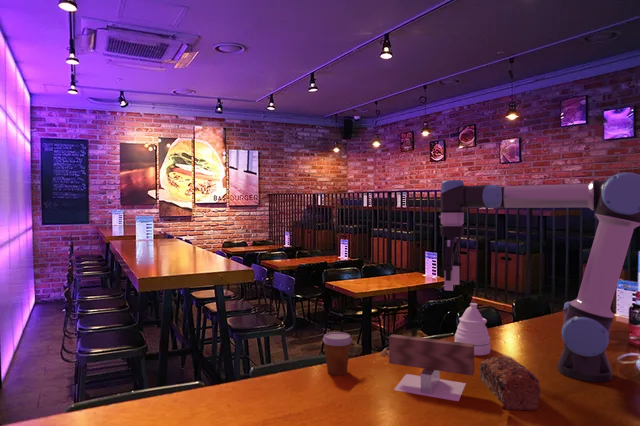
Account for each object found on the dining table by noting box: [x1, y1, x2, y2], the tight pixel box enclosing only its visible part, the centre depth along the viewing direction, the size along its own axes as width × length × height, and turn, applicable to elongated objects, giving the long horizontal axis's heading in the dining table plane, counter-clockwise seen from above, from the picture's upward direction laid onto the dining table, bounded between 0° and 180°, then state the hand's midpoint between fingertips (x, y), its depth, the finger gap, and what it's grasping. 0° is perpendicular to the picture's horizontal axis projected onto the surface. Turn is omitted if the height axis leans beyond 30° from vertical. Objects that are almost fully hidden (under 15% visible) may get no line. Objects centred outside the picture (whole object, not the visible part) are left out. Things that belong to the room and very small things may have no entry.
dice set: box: [381, 348, 389, 357], centre depth 164 cm, size 5×5×2 cm
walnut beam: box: [388, 333, 475, 377], centre depth 130 cm, size 24×3×8 cm, turn 64°
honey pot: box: [454, 302, 491, 356], centre depth 170 cm, size 13×13×18 cm
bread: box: [479, 356, 541, 411], centre depth 127 cm, size 19×11×10 cm, turn 178°
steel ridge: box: [420, 368, 441, 395], centre depth 130 cm, size 3×12×6 cm, turn 154°
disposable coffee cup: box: [322, 331, 353, 376], centre depth 147 cm, size 10×10×12 cm
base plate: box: [393, 373, 467, 402], centre depth 130 cm, size 18×14×2 cm
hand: (452, 287), depth 153 cm, fingers open, 13 cm apart
